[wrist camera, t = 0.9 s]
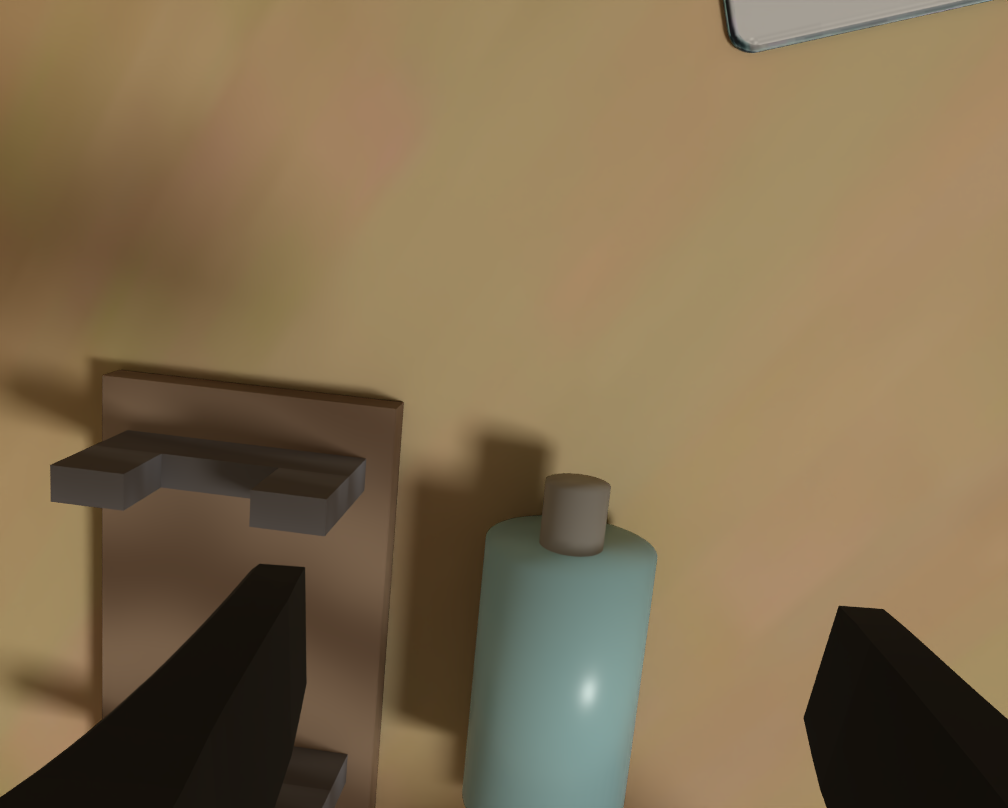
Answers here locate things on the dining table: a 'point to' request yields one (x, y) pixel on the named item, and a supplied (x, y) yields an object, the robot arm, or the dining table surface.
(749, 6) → the smartphone
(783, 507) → the dining table surface
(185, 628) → the holder
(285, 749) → the robot arm
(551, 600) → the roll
